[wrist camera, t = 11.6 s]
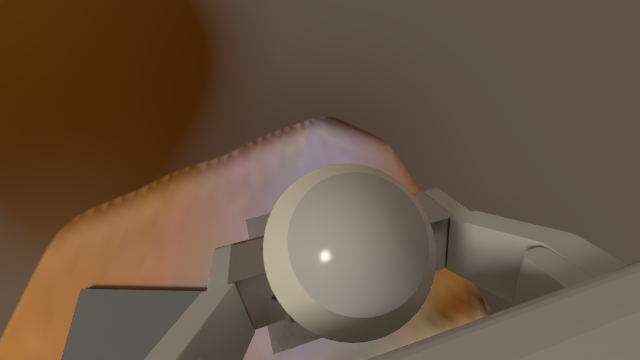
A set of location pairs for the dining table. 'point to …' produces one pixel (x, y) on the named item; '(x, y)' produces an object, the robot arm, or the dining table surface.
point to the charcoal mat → (123, 322)
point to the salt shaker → (349, 253)
